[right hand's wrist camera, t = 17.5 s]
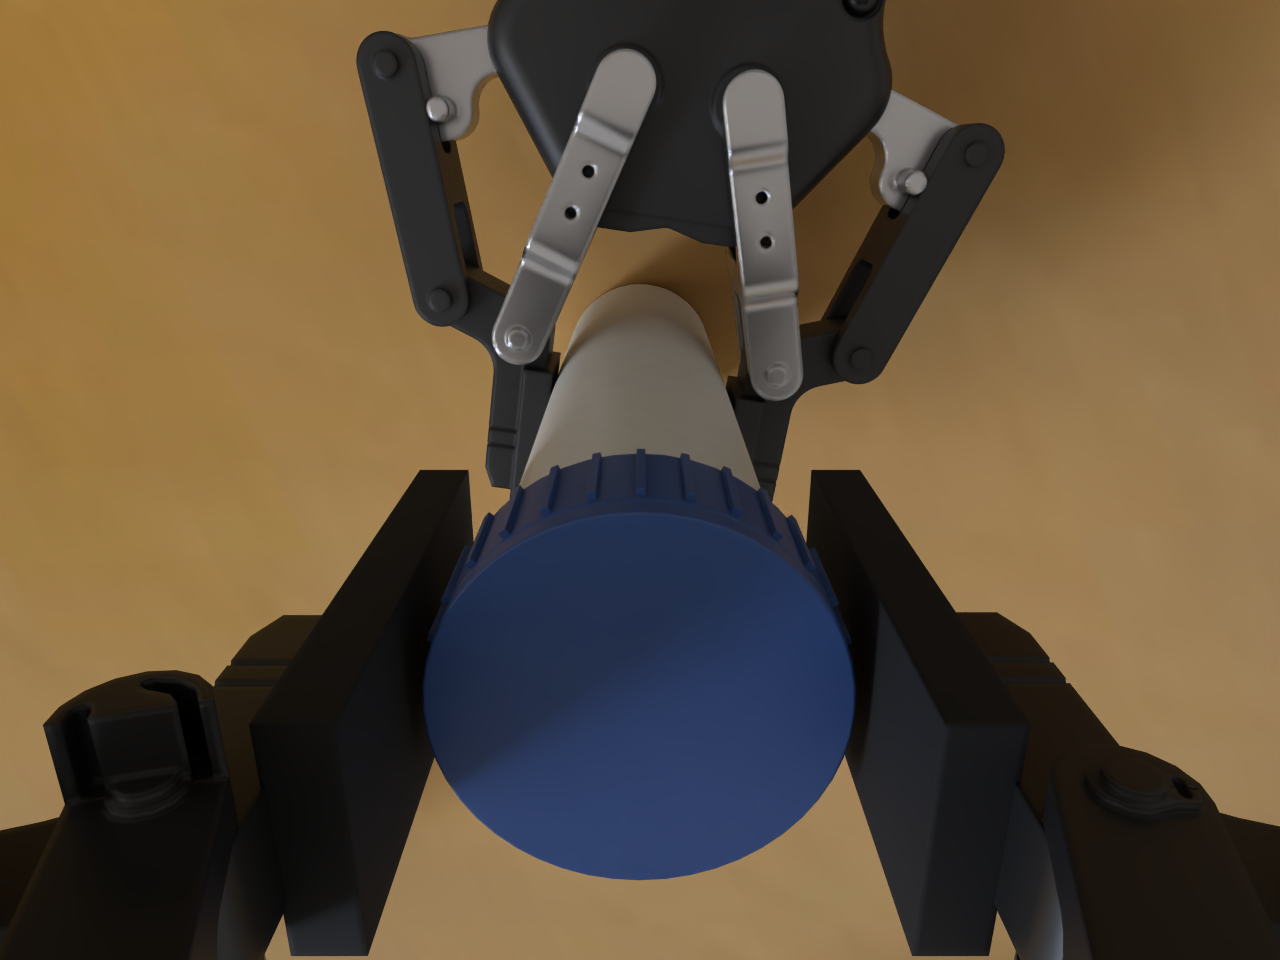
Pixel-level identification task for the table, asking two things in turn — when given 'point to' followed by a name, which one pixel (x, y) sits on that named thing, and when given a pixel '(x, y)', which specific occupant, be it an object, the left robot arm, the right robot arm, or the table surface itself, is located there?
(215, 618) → the table surface
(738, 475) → the jar
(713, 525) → the lid
